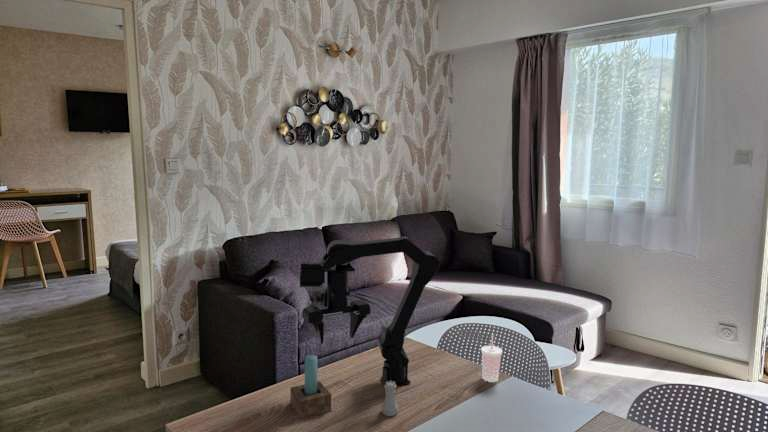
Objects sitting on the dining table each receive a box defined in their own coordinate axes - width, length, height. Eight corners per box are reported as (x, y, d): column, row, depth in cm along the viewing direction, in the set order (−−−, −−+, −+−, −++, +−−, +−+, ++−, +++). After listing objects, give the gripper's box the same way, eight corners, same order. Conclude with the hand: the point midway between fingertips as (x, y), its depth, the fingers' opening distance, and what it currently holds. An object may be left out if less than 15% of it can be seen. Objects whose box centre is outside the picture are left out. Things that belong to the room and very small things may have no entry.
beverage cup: (504, 382, 147) (506, 336, 145) (483, 383, 146) (486, 337, 144) (496, 373, 153) (498, 329, 151) (476, 374, 152) (479, 329, 150)
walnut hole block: (319, 396, 136) (319, 381, 136) (331, 410, 129) (331, 394, 129) (290, 403, 132) (290, 387, 132) (301, 418, 125) (301, 401, 125)
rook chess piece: (396, 418, 127) (397, 387, 125) (379, 415, 127) (380, 385, 126) (399, 409, 131) (400, 379, 130) (382, 406, 132) (383, 377, 131)
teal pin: (314, 401, 133) (314, 353, 131) (318, 406, 130) (319, 358, 128) (302, 403, 131) (302, 356, 129) (307, 409, 129) (307, 361, 127)
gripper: (354, 276, 151) (353, 326, 153) (295, 283, 142) (294, 336, 144) (372, 285, 141) (371, 338, 144) (309, 293, 132) (309, 350, 134)
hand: (336, 340), depth 142 cm, fingers open, 9 cm apart
